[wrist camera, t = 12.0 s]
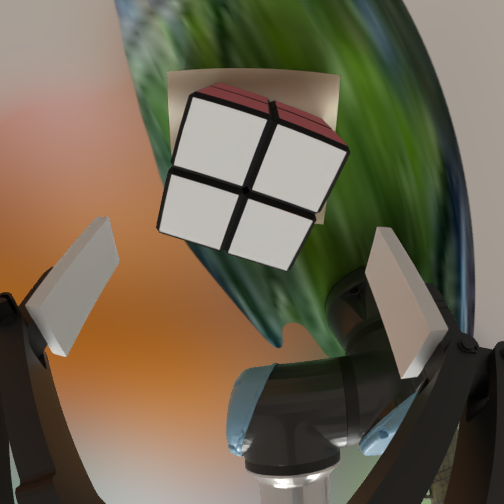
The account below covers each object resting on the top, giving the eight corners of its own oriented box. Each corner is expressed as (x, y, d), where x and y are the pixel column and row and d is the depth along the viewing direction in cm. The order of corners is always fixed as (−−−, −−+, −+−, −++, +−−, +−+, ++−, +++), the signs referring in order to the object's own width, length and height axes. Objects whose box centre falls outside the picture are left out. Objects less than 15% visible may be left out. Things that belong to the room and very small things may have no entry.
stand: (315, 199, 36) (323, 224, 31) (189, 194, 36) (177, 218, 31) (327, 73, 27) (340, 75, 22) (184, 70, 27) (167, 71, 23)
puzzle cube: (215, 81, 23) (188, 90, 15) (324, 119, 25) (354, 149, 16) (186, 180, 29) (153, 234, 20) (283, 211, 30) (289, 275, 22)
